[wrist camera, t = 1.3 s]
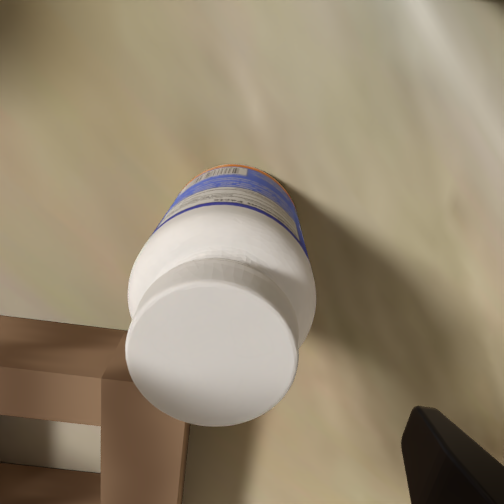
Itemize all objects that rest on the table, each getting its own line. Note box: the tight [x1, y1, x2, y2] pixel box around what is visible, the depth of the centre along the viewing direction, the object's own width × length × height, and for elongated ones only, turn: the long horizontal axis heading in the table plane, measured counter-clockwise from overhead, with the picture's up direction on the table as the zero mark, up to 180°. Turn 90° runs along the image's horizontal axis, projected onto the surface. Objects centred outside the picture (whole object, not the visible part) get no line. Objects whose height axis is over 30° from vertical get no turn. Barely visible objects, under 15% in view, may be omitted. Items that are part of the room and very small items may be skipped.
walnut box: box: [0, 316, 190, 504], centre depth 22 cm, size 14×12×4 cm
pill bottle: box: [125, 164, 316, 427], centre depth 15 cm, size 5×5×10 cm
